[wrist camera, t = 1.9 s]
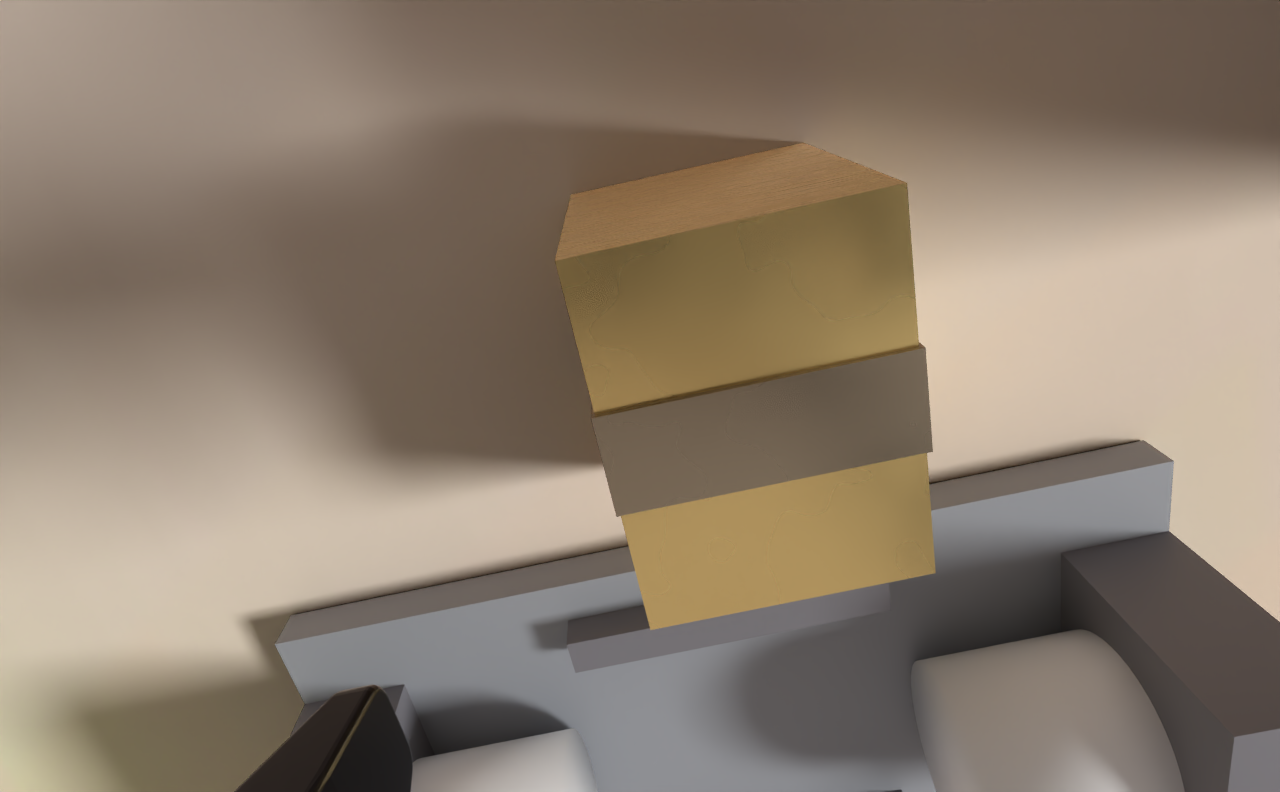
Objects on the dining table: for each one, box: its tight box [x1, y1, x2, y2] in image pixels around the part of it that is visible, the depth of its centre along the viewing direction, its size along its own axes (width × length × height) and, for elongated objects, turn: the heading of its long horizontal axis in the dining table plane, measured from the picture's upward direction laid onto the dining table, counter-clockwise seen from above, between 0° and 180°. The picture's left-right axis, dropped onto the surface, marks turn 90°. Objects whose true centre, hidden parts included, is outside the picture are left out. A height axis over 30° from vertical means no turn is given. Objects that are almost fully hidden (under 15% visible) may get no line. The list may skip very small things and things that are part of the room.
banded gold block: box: [555, 143, 936, 630], centre depth 13 cm, size 6×5×6 cm
